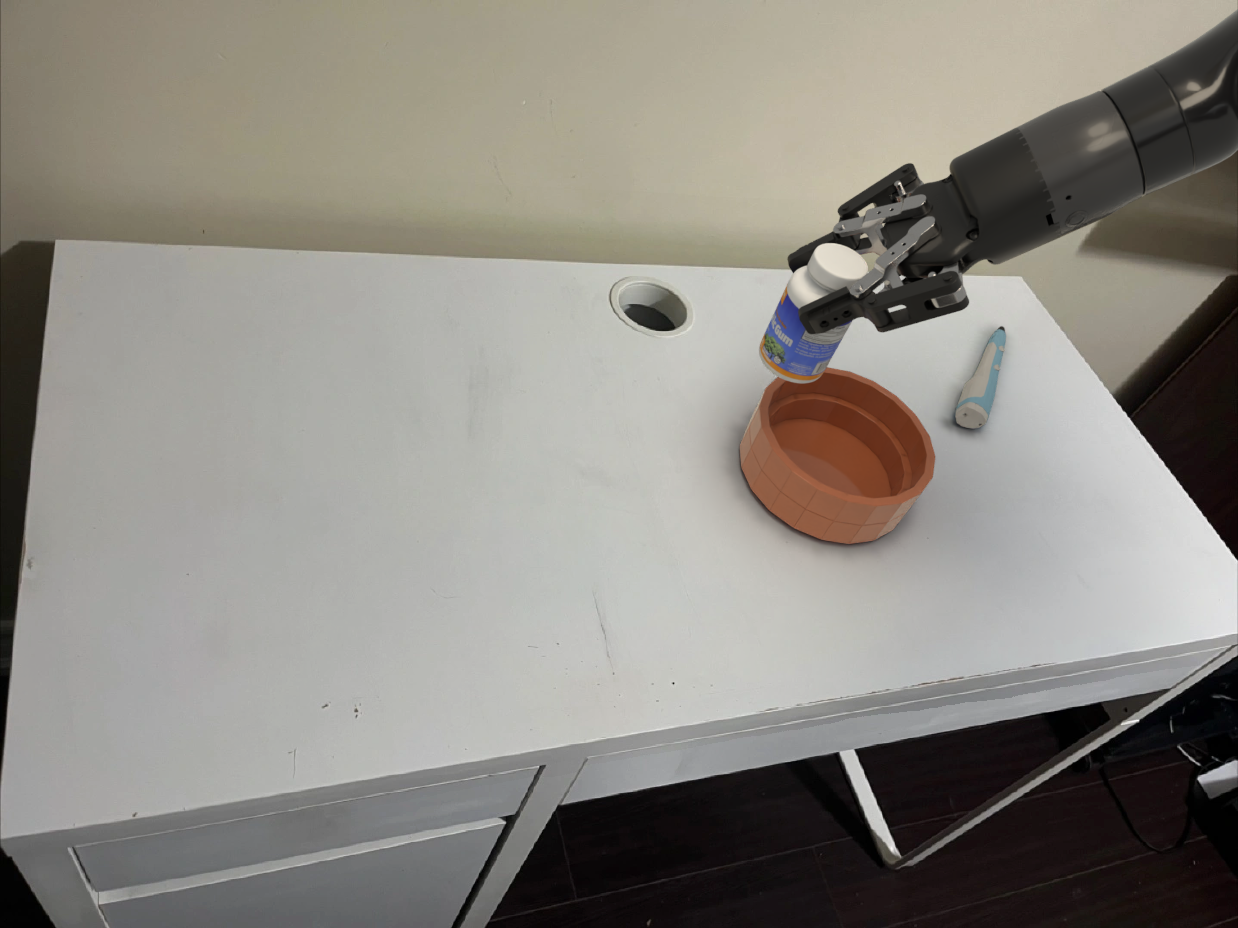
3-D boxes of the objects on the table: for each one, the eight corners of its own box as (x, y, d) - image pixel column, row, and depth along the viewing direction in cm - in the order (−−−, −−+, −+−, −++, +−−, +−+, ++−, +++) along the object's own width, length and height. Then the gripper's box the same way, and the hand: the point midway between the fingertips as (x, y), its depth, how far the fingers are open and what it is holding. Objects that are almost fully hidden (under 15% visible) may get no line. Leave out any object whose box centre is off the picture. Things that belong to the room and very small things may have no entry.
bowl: (929, 479, 80) (961, 437, 76) (856, 580, 71) (888, 538, 66) (791, 387, 84) (814, 342, 80) (705, 470, 75) (725, 424, 71)
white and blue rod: (977, 437, 86) (993, 418, 83) (948, 422, 86) (962, 403, 84) (1009, 337, 98) (1024, 318, 96) (983, 324, 99) (997, 305, 96)
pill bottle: (750, 334, 68) (794, 231, 60) (813, 339, 69) (864, 239, 62) (766, 384, 64) (815, 281, 57) (832, 388, 66) (888, 287, 58)
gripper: (995, 77, 57) (763, 200, 64) (1068, 200, 48) (787, 328, 55) (1023, 164, 62) (804, 269, 69) (1094, 291, 52) (833, 398, 59)
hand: (798, 295), depth 62 cm, fingers closed on pill bottle, 5 cm apart
